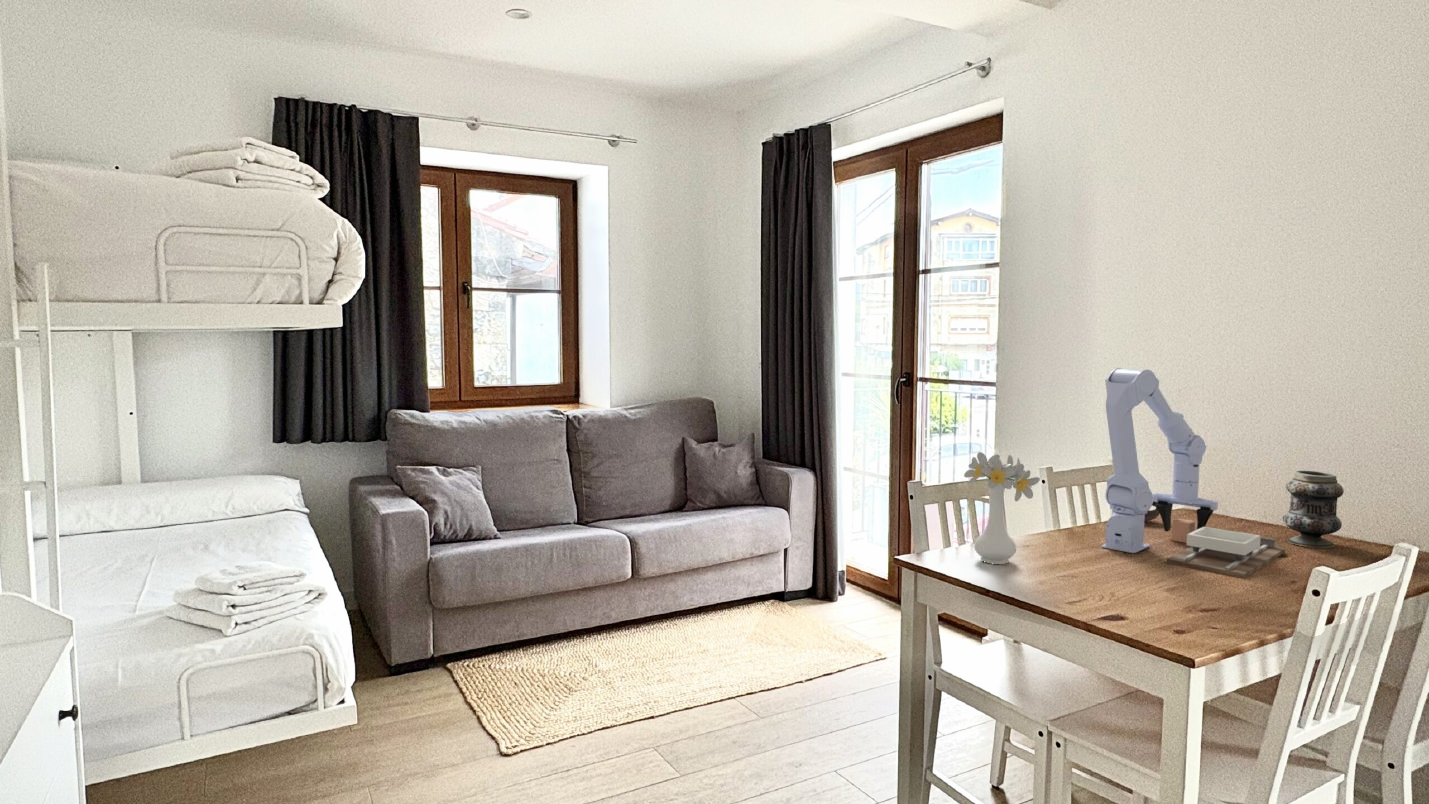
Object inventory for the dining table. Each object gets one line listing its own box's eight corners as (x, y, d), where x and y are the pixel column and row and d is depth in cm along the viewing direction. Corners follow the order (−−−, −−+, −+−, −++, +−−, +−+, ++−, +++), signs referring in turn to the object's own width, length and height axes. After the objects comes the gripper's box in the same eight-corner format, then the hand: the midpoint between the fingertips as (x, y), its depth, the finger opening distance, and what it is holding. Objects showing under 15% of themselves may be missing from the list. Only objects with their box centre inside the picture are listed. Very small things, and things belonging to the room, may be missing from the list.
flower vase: (1014, 576, 186) (1017, 463, 184) (948, 557, 201) (950, 453, 199) (1050, 566, 194) (1053, 458, 191) (983, 548, 209) (986, 448, 206)
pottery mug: (1154, 519, 241) (1164, 498, 236) (1151, 540, 234) (1161, 518, 229) (1110, 505, 245) (1118, 484, 240) (1105, 525, 239) (1114, 503, 234)
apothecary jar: (1351, 547, 208) (1356, 474, 207) (1319, 552, 204) (1323, 478, 202) (1302, 535, 220) (1306, 467, 218) (1270, 540, 215) (1274, 470, 214)
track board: (1244, 578, 184) (1245, 564, 184) (1166, 563, 196) (1166, 550, 195) (1284, 552, 204) (1285, 540, 204) (1211, 540, 216) (1211, 528, 215)
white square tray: (1244, 562, 190) (1245, 544, 189) (1186, 551, 198) (1187, 534, 198) (1259, 553, 197) (1260, 535, 196) (1202, 543, 206) (1203, 526, 205)
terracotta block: (1188, 543, 213) (1189, 523, 213) (1171, 540, 216) (1172, 521, 216) (1194, 540, 216) (1195, 521, 215) (1177, 537, 219) (1178, 518, 218)
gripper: (1223, 482, 212) (1220, 535, 213) (1161, 474, 223) (1159, 525, 224) (1213, 486, 207) (1210, 540, 209) (1150, 478, 218) (1148, 530, 219)
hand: (1183, 533), depth 216 cm, fingers open, 7 cm apart
